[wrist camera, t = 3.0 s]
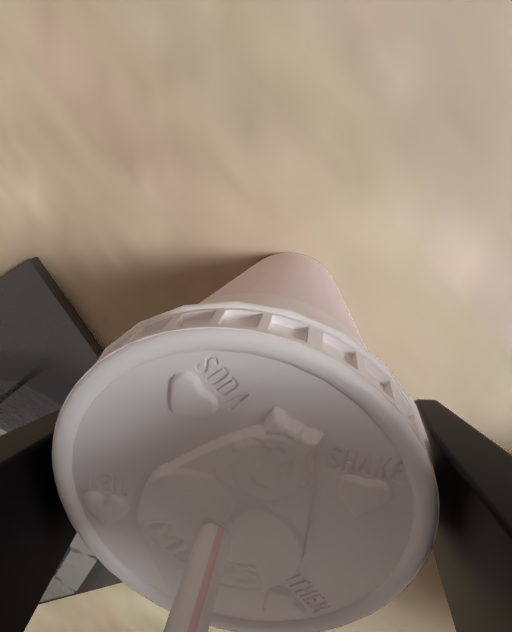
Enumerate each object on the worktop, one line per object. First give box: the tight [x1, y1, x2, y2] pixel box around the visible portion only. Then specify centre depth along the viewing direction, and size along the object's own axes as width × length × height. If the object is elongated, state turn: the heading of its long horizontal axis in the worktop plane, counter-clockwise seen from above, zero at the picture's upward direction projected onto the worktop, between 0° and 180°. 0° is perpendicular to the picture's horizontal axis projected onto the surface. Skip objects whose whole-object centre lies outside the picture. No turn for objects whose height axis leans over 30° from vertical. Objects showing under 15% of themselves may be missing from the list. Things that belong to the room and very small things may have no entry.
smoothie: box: [52, 253, 439, 632], centre depth 9 cm, size 6×6×14 cm
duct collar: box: [0, 257, 122, 604], centre depth 20 cm, size 16×16×3 cm
